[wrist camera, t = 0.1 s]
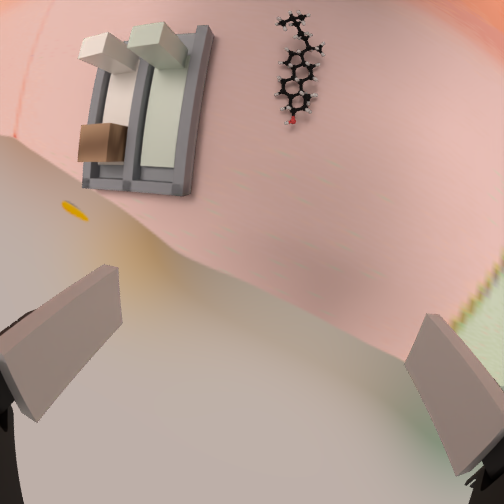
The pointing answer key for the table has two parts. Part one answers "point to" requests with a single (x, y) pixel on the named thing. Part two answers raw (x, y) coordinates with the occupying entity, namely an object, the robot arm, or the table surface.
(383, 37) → the table surface
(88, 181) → the lane board
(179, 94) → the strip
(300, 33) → the molecular model
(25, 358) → the robot arm
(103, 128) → the cube
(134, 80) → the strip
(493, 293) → the table surface
